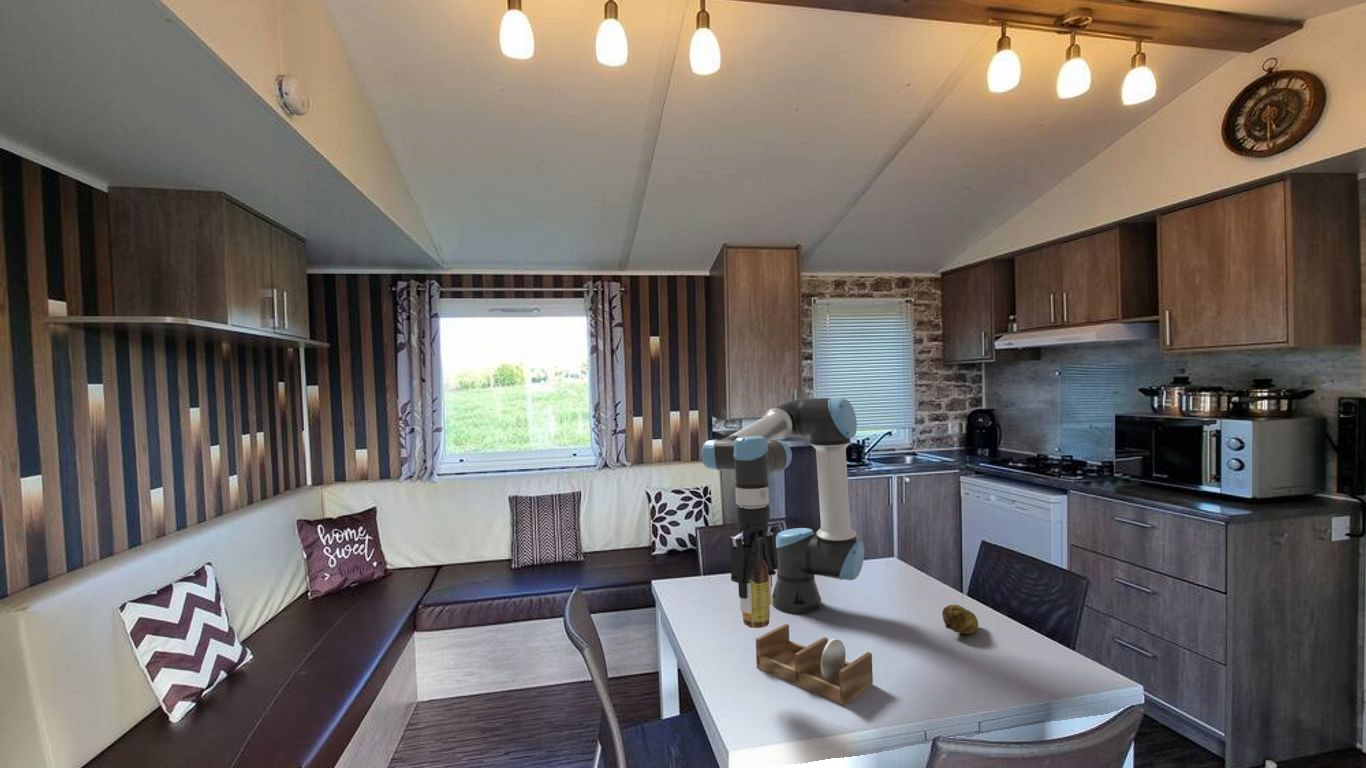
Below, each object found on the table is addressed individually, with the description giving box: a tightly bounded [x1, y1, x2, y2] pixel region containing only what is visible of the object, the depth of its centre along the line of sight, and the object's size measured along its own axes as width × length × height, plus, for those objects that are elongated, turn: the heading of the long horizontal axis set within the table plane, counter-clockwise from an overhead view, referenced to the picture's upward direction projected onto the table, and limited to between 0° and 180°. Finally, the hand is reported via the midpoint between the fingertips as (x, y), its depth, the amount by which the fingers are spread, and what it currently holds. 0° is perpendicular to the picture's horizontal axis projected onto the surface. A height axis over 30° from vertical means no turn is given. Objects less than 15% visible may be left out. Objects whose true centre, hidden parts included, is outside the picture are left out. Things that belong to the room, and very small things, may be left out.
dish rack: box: [755, 623, 874, 706], centre depth 132 cm, size 24×12×10 cm, turn 43°
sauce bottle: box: [741, 537, 771, 629], centre depth 127 cm, size 7×6×20 cm
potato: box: [942, 604, 979, 635], centre depth 153 cm, size 8×13×8 cm, turn 114°
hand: (756, 607), depth 127 cm, fingers closed on sauce bottle, 6 cm apart
